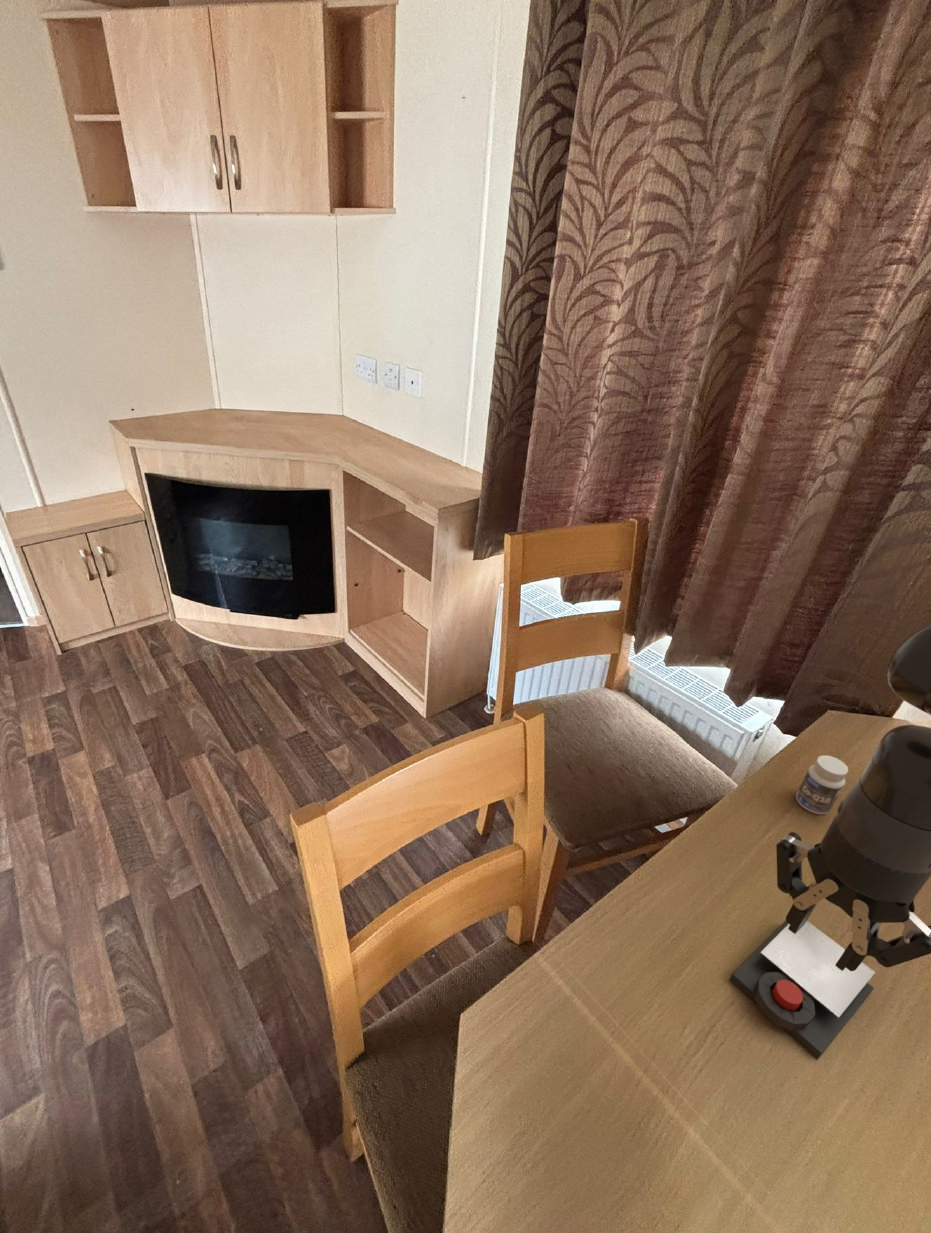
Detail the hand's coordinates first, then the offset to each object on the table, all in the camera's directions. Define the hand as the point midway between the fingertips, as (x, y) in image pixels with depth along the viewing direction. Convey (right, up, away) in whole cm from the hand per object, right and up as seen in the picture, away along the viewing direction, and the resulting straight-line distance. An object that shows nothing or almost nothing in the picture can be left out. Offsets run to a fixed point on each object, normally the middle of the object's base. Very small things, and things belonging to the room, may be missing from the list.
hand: (818, 944), depth 62 cm
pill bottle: (+22, +4, +32) cm, 39 cm away
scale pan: (+6, -7, +8) cm, 12 cm away
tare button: (0, -9, +6) cm, 11 cm away
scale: (+4, -10, +9) cm, 14 cm away
